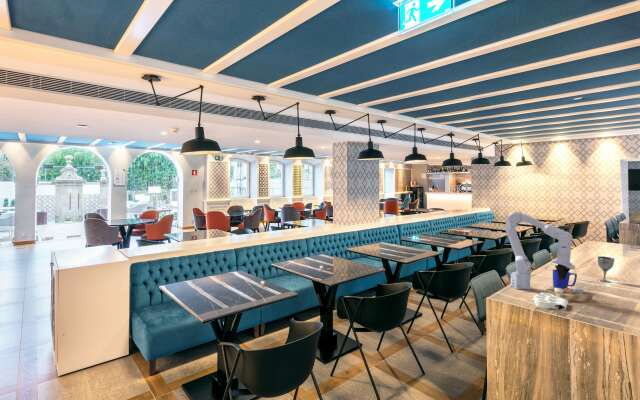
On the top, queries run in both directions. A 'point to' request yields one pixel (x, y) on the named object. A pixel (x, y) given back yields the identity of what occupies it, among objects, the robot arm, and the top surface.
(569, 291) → the pink egg
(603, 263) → the wine glass
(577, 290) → the pale blue rounded lump
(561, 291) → the pale grey rounded piece
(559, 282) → the mug
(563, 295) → the wooden compartment tray
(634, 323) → the top surface
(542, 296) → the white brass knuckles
